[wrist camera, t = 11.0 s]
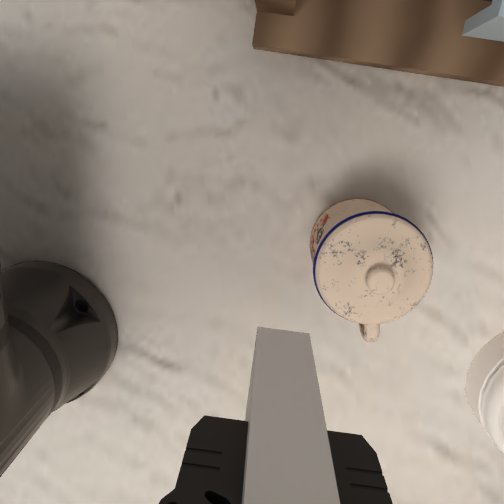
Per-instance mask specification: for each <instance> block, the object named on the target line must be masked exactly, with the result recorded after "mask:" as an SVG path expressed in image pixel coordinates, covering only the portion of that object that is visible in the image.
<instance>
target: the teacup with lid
mask: <svg viewBox="0 0 504 504" xmlns="http://www.w3.org/2000/svg"><path fill="white" fill-rule="evenodd" d="M310 253H311V257H312V261H313V276H314V282H315V286H316V288H317V291H318V293H319V295H320V297H321V298H322V300H323V301H324V303H325V304H326V305H327V306H328V307H329V308H330V309H331V310H332V311H333V312H335V313H336V314H338V315H339V316H341V317H343V318H345V319H347V320H350V321H353V322H356V323H359V327H360V331H361V334H362V337H363V339H364V340H365V341H367V342H373V341H376V340H377V339H378V337H379V332H380V324H382V323H387V322H390V321H393V320H396V319H398V318H400V317H402V316H404V315H405V314H407V313H408V312H410V311H411V310H412V309H413V308H414V307H416V306H417V304H418V303H419V302H420V301H421V300H422V298H423V297H424V295H425V294H426V292H427V290H428V288H429V285H430V283H431V279H432V274H433V257H432V252H431V248H430V246H429V243H428V241H427V239H426V238H425V236H424V235H423V233H422V232H421V231H420V230H419V229H418V228H417V227H416V226H415V225H414V224H413V223H411V222H410V221H409V220H407V219H405V218H403V217H401V216H399V215H396V214H393V213H392V212H391V211H389V210H388V209H386V208H385V207H384V206H382V205H380V204H378V203H376V202H373V201H370V200H365V199H351V200H346V201H342V202H339V203H337V204H335V205H333V206H332V207H330V208H329V209H327V210H326V211H325V212H324V213H323V214H322V215H321V216H320V218H319V219H318V220H317V222H316V223H315V225H314V228H313V230H312V233H311V237H310Z"/></svg>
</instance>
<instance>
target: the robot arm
mask: <svg viewBox="0 0 504 504" xmlns="http://www.w3.org/2000/svg"><path fill="white" fill-rule="evenodd" d="M116 348H117V327H116V322H115V319H114V315H113V313H112V310H111V308H110V306H109V304H108V303H107V301H106V299H105V298H104V297H103V295H102V294H101V293H100V291H99V290H98V289H97V288H96V287H95V286H94V285H93V284H92V283H91V282H90V281H88V280H87V279H86V278H85V277H83V276H82V275H80V274H79V273H77V272H75V271H73V270H71V269H69V268H67V267H64V266H61V265H58V264H54V263H50V262H41V261H32V262H24V263H19V264H16V265H13V266H10V267H8V268H6V269H4V270H2V271H1V264H0V477H1V475H2V474H3V473H4V472H5V470H6V469H7V468H8V467H9V465H10V464H11V463H12V462H13V460H14V459H15V458H16V456H17V455H18V454H19V453H20V451H21V450H22V449H23V448H24V446H25V445H26V444H27V443H28V441H29V440H30V439H31V437H32V436H33V435H34V434H35V432H36V431H37V430H38V429H39V427H40V426H41V425H42V423H43V422H44V421H45V420H46V419H47V417H48V416H49V415H50V414H51V412H53V411H55V410H57V409H58V408H60V407H61V406H62V405H63V404H65V403H68V402H71V401H73V400H75V399H77V398H79V397H81V396H83V395H84V394H86V393H87V392H88V391H90V390H91V389H92V388H93V387H94V386H95V385H96V384H97V383H98V382H99V381H100V379H101V378H102V376H103V375H104V374H105V372H106V371H107V370H108V368H109V367H110V365H111V363H112V361H113V359H114V356H115V352H116ZM387 489H388V488H387V485H386V482H385V479H384V476H382V469H381V466H380V463H379V460H378V457H377V454H376V452H375V451H374V450H373V448H372V447H371V446H370V445H369V444H368V442H367V441H366V440H365V439H364V438H363V436H362V435H357V434H349V433H342V432H334V431H327V428H326V423H325V417H324V412H323V406H322V401H321V395H320V390H319V384H318V379H317V373H316V368H315V362H314V357H313V351H312V346H311V340H310V335H309V334H308V333H300V332H293V331H285V330H278V329H270V328H263V327H257V335H256V342H255V349H254V357H253V364H252V371H251V378H250V386H249V393H248V400H247V408H246V418H245V421H241V420H233V419H226V418H219V417H211V416H204V417H203V418H202V419H201V420H200V421H199V422H198V423H197V424H196V425H195V426H194V427H193V428H192V429H191V432H190V436H189V439H188V443H187V447H186V451H185V454H184V457H183V461H182V466H181V468H180V472H179V476H178V479H177V483H176V487H175V489H174V490H173V491H171V492H170V493H169V494H167V495H166V496H165V497H164V498H162V499H161V501H160V502H159V504H392V500H391V497H390V494H389V493H388V492H387Z"/></svg>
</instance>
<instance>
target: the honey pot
mask: <svg viewBox="0 0 504 504" xmlns="http://www.w3.org/2000/svg"><path fill="white" fill-rule="evenodd" d="M465 392H466V397H467V403H468V404H469V406H470V408H471V410H472V412H473V413H474V415H475V417H476V418H477V419H478V421H479V422H480V424H481V425H482V427H483V428H484V430H485V431H486V433H487V434H488V435H489V436H490V438H491V440H492V441H493V442H494V444H495V446H496V447H497V448H498V449H499V450H500V451H501V452H502V453H504V333H502V334H499V335H497V336H496V337H494V338H493V339H492V340H491V341H489V342H488V343H487V344H486V345H484V346H483V347H482V348H481V350H480V351H479V352H478V353H477V355H476V356H475V357H474V359H473V360H472V362H471V365H470V367H469V369H468V372H467V374H466V382H465Z"/></svg>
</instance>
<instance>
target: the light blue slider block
mask: <svg viewBox="0 0 504 504" xmlns="http://www.w3.org/2000/svg"><path fill="white" fill-rule="evenodd" d="M462 36H469V37H476V38H482V39H489V40H496V41H503V42H504V0H492V4H491V5H490V6H488V7H487V8H485V9H483V10H482V11H480V12H478V13H477V14H475V15H474V16H472V17H470V18H469V19H467V20H466V21H465V25H464V29H463V33H462Z"/></svg>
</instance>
